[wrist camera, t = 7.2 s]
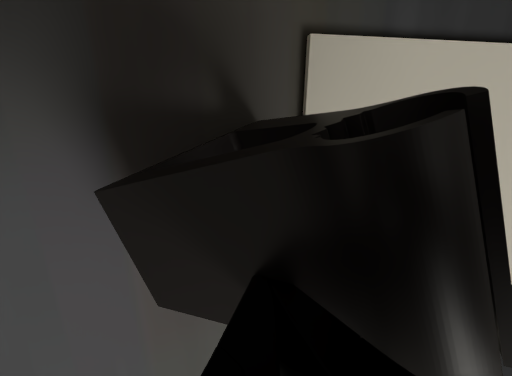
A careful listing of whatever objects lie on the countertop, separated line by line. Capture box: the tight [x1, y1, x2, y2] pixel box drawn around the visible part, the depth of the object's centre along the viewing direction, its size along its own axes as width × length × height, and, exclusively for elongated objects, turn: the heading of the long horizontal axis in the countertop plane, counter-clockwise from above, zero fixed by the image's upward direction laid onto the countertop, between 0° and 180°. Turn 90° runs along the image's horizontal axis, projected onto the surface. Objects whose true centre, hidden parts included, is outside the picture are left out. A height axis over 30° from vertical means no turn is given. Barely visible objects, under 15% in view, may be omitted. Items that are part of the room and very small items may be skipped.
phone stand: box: [94, 86, 512, 376], centre depth 10 cm, size 9×6×12 cm
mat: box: [303, 34, 512, 284], centre depth 18 cm, size 16×18×1 cm
